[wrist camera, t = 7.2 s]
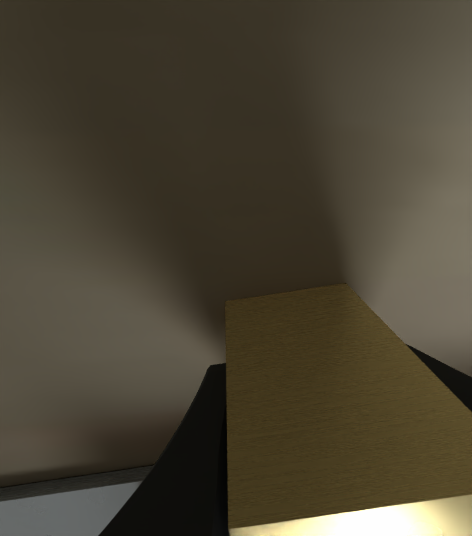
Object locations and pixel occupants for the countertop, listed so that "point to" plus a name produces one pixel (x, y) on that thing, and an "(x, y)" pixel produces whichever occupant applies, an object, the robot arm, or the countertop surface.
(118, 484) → the track
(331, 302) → the block
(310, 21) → the countertop surface
